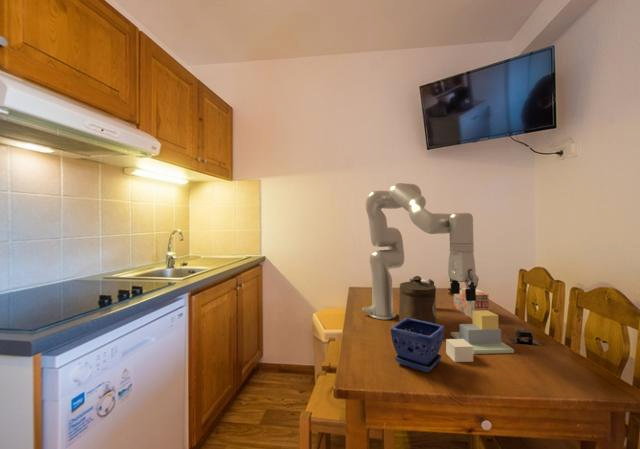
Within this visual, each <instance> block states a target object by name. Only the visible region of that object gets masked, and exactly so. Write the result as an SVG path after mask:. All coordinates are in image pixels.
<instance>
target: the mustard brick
mask: <svg viewBox="0 0 640 449" xmlns="http://www.w3.org/2000/svg"><path fill="white" fill-rule="evenodd" d="M472 317H473V319H472V324H474V325H475V326H477V327H478V328H480V329H482V330H495V329H498V328H499V315H498V314H496V313H494V312H492V311H490V310H489V309H488V310H480V311H472Z"/></svg>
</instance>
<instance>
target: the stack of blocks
mask: <svg viewBox="0 0 640 449" xmlns="http://www.w3.org/2000/svg"><path fill="white" fill-rule="evenodd" d="M465 289H467V287H461V289H460V294H452V295H453V308H455V309H456V310H458V312H460V313H462V314H464V315H465V316H467V317H468V318H470V319H471V320H473V317H472V311H480V310H488V311H489V293H485V291H483V290H480V289H478V288H477V289H476V300H475V301H466V290H465Z"/></svg>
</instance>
